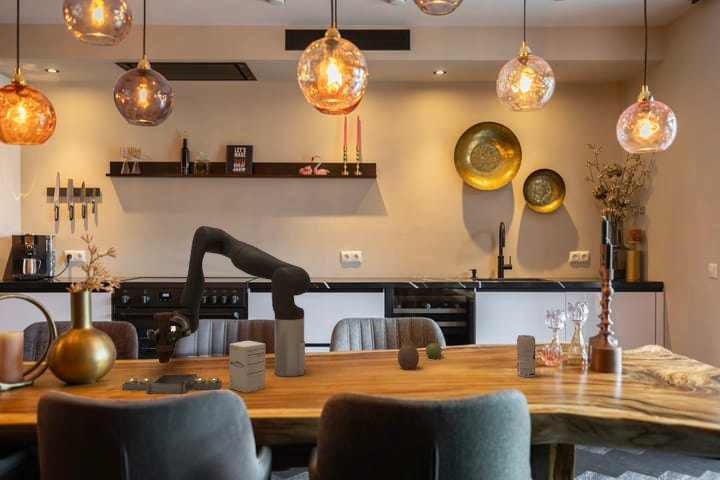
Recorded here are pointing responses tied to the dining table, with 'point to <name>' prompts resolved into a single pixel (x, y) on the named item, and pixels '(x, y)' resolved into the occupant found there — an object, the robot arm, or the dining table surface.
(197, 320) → the robot arm
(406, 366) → the vase
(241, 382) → the supplement box
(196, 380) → the chain end
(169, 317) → the bolt
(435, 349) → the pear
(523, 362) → the energy drink
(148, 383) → the chain end
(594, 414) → the dining table surface
